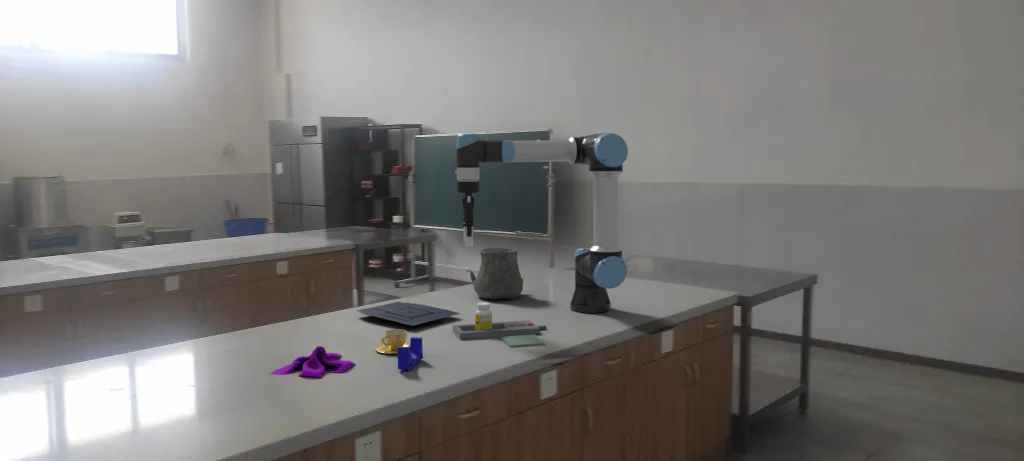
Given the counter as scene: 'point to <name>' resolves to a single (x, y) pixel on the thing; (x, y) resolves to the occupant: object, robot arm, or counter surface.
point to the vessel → (498, 274)
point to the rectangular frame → (498, 330)
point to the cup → (393, 341)
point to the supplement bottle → (483, 317)
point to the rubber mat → (522, 340)
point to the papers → (407, 312)
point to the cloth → (316, 364)
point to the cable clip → (410, 354)
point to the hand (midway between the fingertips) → (468, 244)
